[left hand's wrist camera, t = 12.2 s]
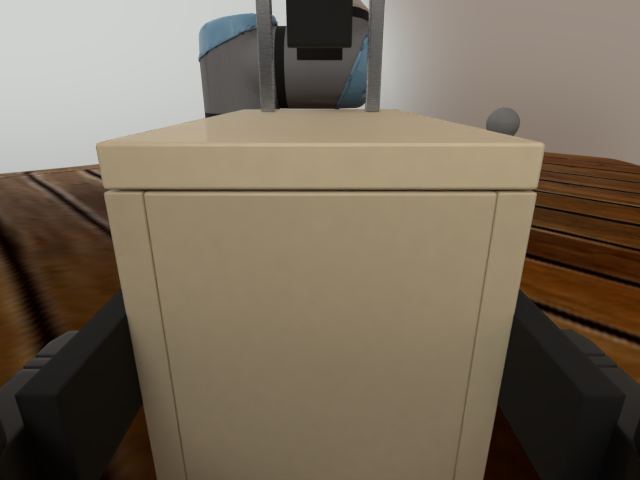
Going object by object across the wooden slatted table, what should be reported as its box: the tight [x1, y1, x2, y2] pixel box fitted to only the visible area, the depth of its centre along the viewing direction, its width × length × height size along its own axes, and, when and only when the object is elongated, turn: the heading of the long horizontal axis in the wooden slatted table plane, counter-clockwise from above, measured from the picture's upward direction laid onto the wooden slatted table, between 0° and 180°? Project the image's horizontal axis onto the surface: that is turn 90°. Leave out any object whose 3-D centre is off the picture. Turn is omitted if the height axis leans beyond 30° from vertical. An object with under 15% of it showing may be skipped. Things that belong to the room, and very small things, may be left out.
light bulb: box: [486, 108, 520, 136], centre depth 80 cm, size 6×6×10 cm
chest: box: [104, 190, 537, 480], centre depth 19 cm, size 17×10×11 cm, turn 0°
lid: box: [96, 0, 545, 190], centre depth 16 cm, size 17×10×9 cm, turn 0°
